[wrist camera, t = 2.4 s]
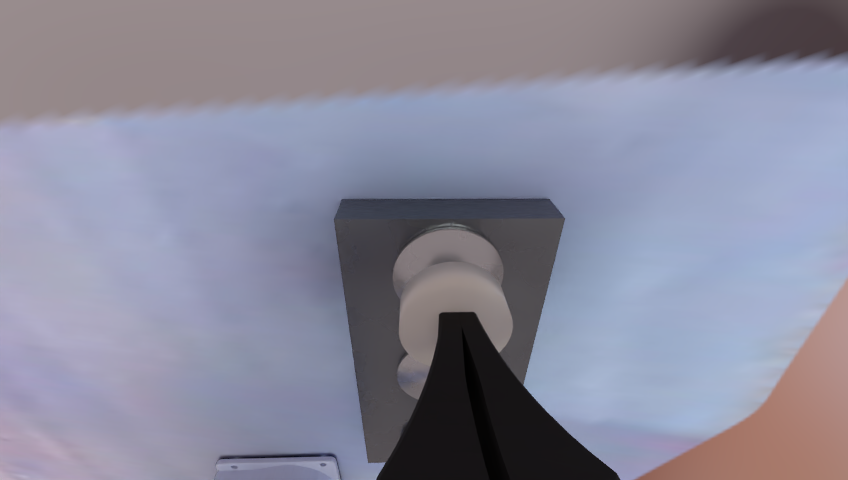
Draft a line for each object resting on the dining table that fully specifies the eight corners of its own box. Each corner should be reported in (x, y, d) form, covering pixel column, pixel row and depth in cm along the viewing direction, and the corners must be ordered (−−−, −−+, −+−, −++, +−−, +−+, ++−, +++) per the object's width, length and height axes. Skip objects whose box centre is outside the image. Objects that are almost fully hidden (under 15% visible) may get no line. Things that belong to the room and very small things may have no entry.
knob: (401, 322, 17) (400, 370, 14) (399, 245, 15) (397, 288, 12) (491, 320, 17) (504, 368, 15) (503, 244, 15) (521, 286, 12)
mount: (370, 435, 27) (367, 467, 25) (342, 199, 16) (332, 222, 15) (498, 432, 27) (505, 463, 25) (549, 199, 17) (567, 221, 15)
